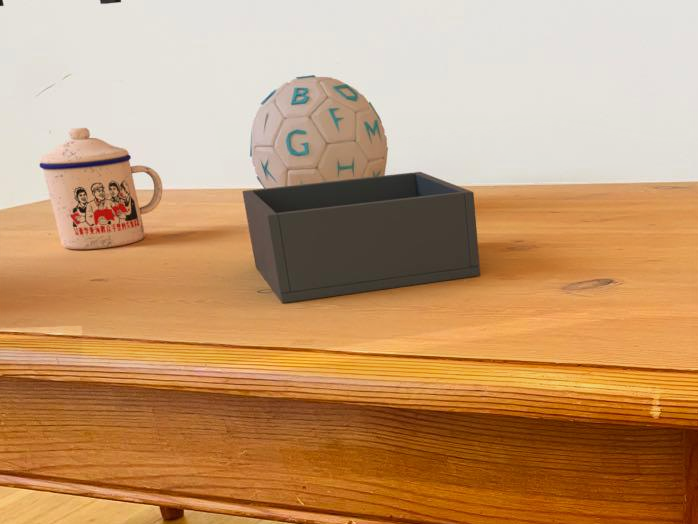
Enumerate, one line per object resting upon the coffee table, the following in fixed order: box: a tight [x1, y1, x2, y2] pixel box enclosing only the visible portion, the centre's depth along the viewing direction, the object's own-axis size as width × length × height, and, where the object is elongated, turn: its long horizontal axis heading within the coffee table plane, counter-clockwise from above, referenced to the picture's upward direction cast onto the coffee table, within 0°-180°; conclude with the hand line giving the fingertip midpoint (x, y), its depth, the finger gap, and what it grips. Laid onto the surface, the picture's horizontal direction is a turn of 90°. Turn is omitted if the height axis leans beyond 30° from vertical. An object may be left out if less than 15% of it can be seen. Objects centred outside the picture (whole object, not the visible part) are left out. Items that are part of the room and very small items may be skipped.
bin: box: [242, 171, 481, 304], centre depth 93 cm, size 17×17×7 cm
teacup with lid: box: [39, 127, 163, 251], centre depth 115 cm, size 12×9×12 cm
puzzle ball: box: [249, 74, 389, 189], centre depth 120 cm, size 15×15×15 cm
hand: (54, 5), depth 113 cm, fingers open, 13 cm apart
